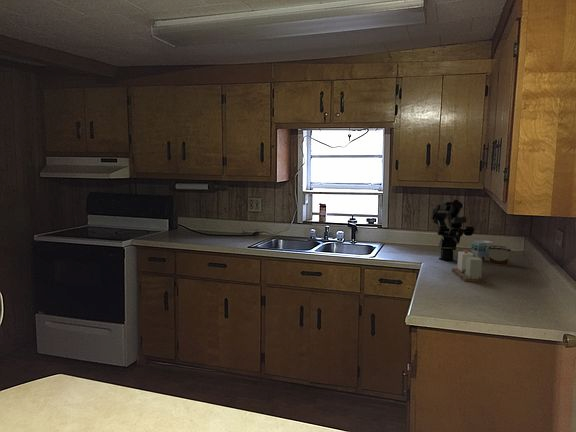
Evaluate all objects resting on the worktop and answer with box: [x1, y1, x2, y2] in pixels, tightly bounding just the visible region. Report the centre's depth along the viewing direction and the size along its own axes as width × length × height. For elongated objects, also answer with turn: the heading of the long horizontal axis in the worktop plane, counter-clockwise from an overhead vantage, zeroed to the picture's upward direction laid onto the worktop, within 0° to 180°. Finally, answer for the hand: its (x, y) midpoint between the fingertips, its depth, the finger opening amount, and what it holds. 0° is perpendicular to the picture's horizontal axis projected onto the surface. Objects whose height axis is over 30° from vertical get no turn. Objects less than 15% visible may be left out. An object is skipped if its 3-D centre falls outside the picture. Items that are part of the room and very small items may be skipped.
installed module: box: [465, 257, 483, 278], centre depth 236 cm, size 6×6×9 cm
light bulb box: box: [470, 240, 495, 262], centre depth 284 cm, size 11×7×11 cm, turn 105°
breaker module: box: [456, 249, 474, 272], centre depth 249 cm, size 7×6×10 cm
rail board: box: [451, 267, 487, 283], centre depth 244 cm, size 21×10×2 cm, turn 178°
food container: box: [488, 244, 512, 267], centre depth 273 cm, size 12×6×10 cm, turn 59°
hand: (458, 243), depth 261 cm, fingers closed
